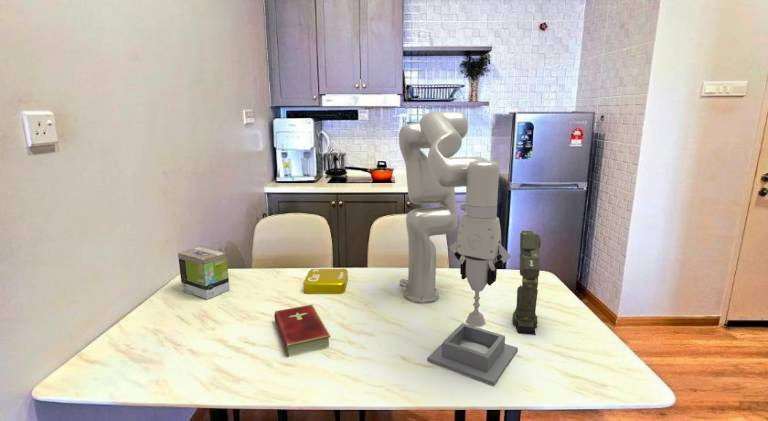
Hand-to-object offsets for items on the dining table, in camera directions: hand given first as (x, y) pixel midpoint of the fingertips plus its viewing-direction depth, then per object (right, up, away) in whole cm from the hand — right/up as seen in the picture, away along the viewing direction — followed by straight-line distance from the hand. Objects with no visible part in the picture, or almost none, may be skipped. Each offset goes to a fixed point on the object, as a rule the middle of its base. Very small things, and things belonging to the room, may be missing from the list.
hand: (477, 279), depth 105 cm
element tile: (-45, -11, +51) cm, 69 cm away
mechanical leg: (+19, -17, +22) cm, 34 cm away
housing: (0, -21, +5) cm, 22 cm away
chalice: (0, -12, +3) cm, 12 cm away
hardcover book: (-48, -19, +17) cm, 55 cm away
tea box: (-89, -12, +47) cm, 101 cm away
